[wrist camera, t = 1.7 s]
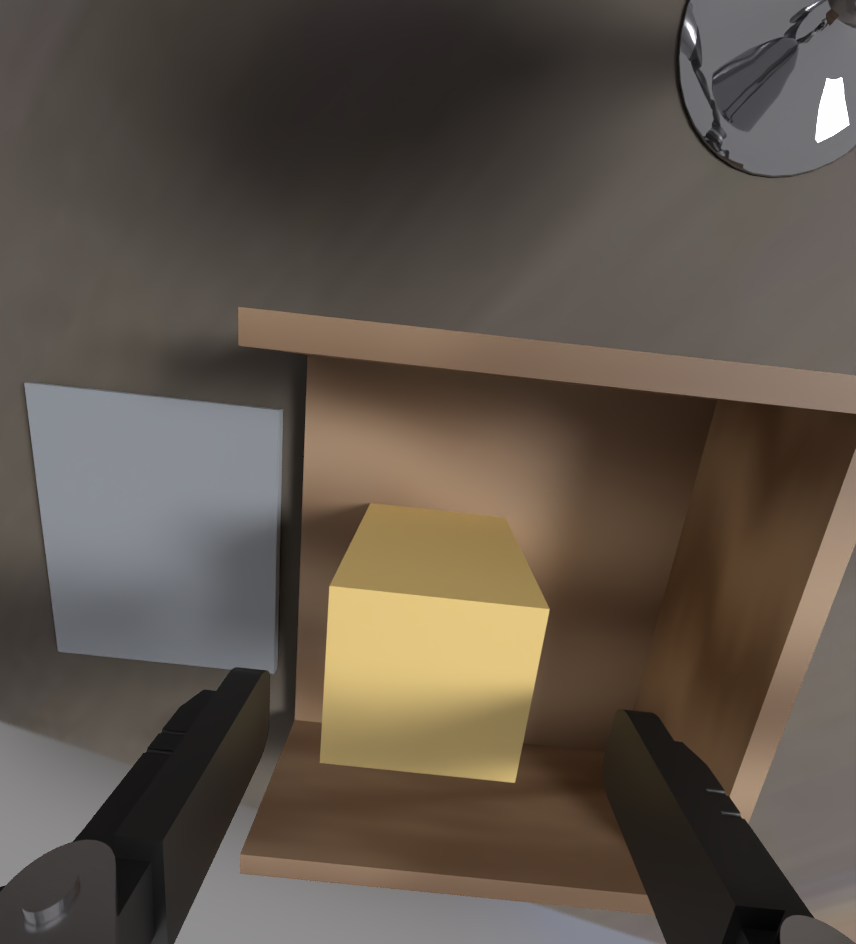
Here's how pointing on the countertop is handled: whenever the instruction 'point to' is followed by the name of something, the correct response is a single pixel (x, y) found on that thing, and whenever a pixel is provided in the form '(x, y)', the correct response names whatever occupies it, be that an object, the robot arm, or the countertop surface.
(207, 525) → the mat
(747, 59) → the wine glass
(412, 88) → the countertop surface
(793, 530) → the box
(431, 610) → the block
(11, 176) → the countertop surface
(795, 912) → the robot arm
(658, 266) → the countertop surface
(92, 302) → the countertop surface
